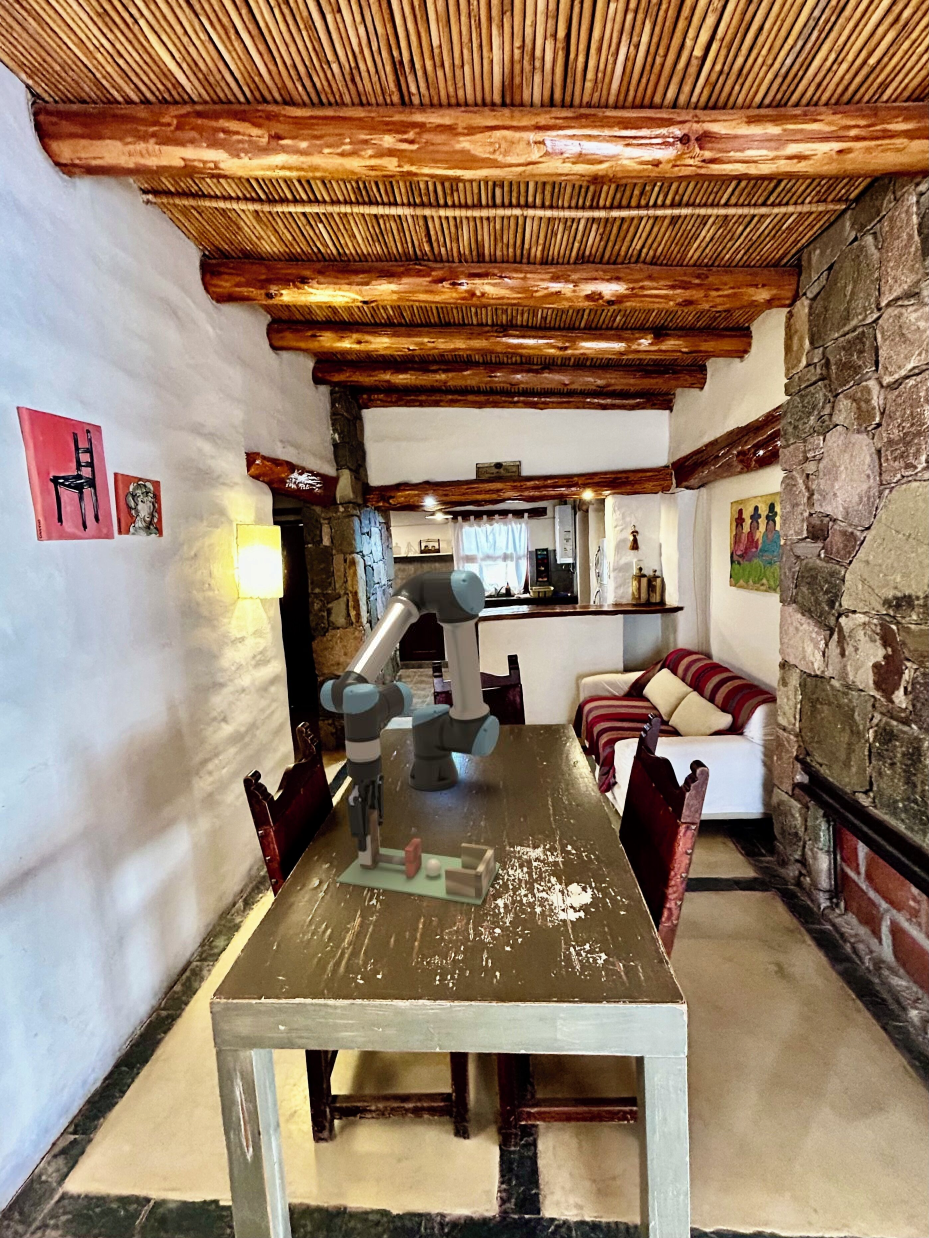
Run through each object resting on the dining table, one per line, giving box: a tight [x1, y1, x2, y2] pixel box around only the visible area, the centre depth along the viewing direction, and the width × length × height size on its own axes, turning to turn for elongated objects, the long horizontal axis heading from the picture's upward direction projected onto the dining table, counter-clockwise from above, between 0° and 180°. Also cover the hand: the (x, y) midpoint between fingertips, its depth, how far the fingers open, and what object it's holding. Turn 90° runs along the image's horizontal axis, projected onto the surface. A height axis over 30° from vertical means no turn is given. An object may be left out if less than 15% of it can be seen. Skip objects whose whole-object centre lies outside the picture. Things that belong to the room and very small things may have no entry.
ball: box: [425, 859, 442, 877], centre depth 124 cm, size 4×4×4 cm
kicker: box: [360, 809, 422, 877], centre depth 127 cm, size 5×13×12 cm, turn 72°
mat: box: [336, 847, 501, 906], centre depth 126 cm, size 15×32×1 cm, turn 72°
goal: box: [445, 842, 497, 899], centre depth 122 cm, size 11×7×5 cm, turn 162°
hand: (369, 858), depth 129 cm, fingers closed on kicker, 3 cm apart
